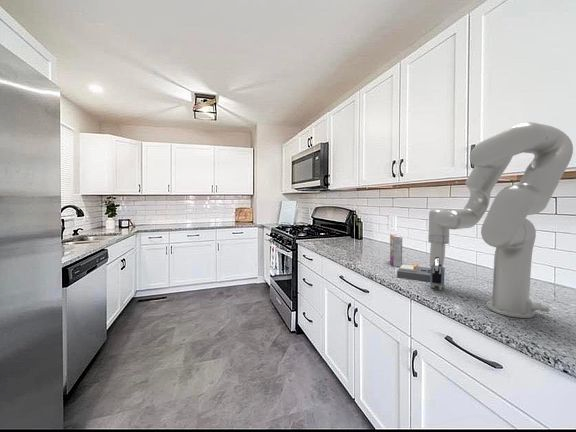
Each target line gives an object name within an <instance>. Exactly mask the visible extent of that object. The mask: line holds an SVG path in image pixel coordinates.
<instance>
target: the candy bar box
mask: <svg viewBox="0 0 576 432" xmlns="http://www.w3.org/2000/svg"><path fill="white" fill-rule="evenodd" d="M389 262H390V265H391V266H392V267H394V268H400V267H401V265H403V237H402V236H401V235H399V234H393V233H392V234H390V235H389Z"/></svg>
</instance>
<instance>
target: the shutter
mask: <svg viewBox="0 0 576 432" xmlns="http://www.w3.org/2000/svg"><path fill="white" fill-rule="evenodd" d="M418 265H419V263H418V262H415V263H414V265H412V264H410V265H409V264H402V265H401V267H399V268H400V270H407V271H417V269H418V267H419V266H418Z"/></svg>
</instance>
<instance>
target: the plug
mask: <svg viewBox="0 0 576 432" xmlns="http://www.w3.org/2000/svg"><path fill="white" fill-rule="evenodd" d="M430 268H431V272H430V282H429V283H430V284H429V285H431V287H432V288H435V286H437V287H438V288H439V290H440V291H441V290H443V288H442V287H445V275H446V274H445V272H446V271H445V270H446V269H445V268H446V267H445V266H443V267H442V268H441V284H438V283H432V273H433V266H431V267H430Z"/></svg>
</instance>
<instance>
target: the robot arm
mask: <svg viewBox="0 0 576 432" xmlns="http://www.w3.org/2000/svg"><path fill="white" fill-rule="evenodd" d="M573 145H574V144H573V142H572V140H571V138H570V137H569V136H568V135H567V134H566V133H565V132H564V131H562V130H561V129H559V128H557V127H554V126H551V125H548V124H542V123H538V122H532V121H528V122H526V121H525V122H522V123H519V124H515V125H513V126H511V127H509V128H507V129H505V130H503V131H501V132H499V133H496V134H494V135H493V136H490V137H488V138H485V139H484V140H482V141H480V142H479V143H477V144H476V145H475V146H474V147H473V148H472V149H471V151H470V153H469V161H470V164H471V165H473V166H474V167H473V169H472V170H471V172H470V174H469V176H468V177H467V179H466V180H465V186H466V187H467V188H468V189H469V190H468V191H469V192H470V196H469V198H468V200H467V203H466V205H465V206H464V208H462V209H450V210H448V209H441V208H435V209H431V210H429V213H428V214H429V215H428V238H427V239H428V241H427V242H428V243H430V249H429V268H431V266H433V273H432V283H438V284H441V268H442V267H444V264H445V259H446V258H445V256H446V245H448V244H450V230H461V229H462V230H464V229H471V228H472V227H474V226H476V225H477V224H478V223H479V222H480V221H481V219H482V218H483V216H484V214H485V213H486V211H488V212H487V214H486V216H485V218H484V221H483V223H482V226H481V230H480V234H481V238H482V240H483V242H485V243H486V245H488V246H491V247H493V248H495V251H494V257H493V272H492V273H493V274H492V275H493V279H492V280H493V281H492V296H491V297H492V299H490V300H488V301H487V302H486V308H488V309H489V310H490V311H492V312H494V313H497V314H500V315H502V316H506V317H513V318H517V319H519V318H520V319H529V318H530V319H531V318H533V317H535V315H536V311H540V312H544V313H545V312H546V313H549V311H550V307H549V305H544V304H542V302H541V303H540V302H532V300H531V299H530V292H531V291H530V289H531V288H530V287H531V272H532V257H533V249H534V246H535V242H536V236H537V231H536V227H535V225H534V224H533V223H532V221H531V220H529V219H527V217H528V216H532V215H537V214H540V213H541V212H543V211H544V210H545V209H546V208H547V206H548V203H549V202H550V200H551V198H552V196H553V194H554V192H555V191H556V189H557V188H558V185H559V183H560V182H561V181H560V180H561V179H562V177H563V175H564V173H565V171H566V170H567V167H568V166H569V164H570V162H571V160H572V157H573V154H574V146H573ZM523 153H526V154H532V155H533V156H534V158H533V159H532V161H531V162H530V163H529V164H528V166H527V167H526V168H525V170H524V172H523V175H522V177H521V178H520V180H519V183H517V184H511V185H508V186H505V187H504V188H503V189H501V190H500V191H499V192H498V193H497V194H496V196H495V198H494V199H493V201H492V202H491V203H492V204H491V206H490V208H489V205H490V200H491V193H492V190H493V189H494V187H495V186H496V184H497V183H498V181H499V180H500V178H501V177H502V175H503V173H504V172H505V170H506V169H507V168H508V166H509V164H510V163H511V162H512V160H513V157H514V156H516V155H520V154H523ZM488 208H489V210H487V209H488Z"/></svg>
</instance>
